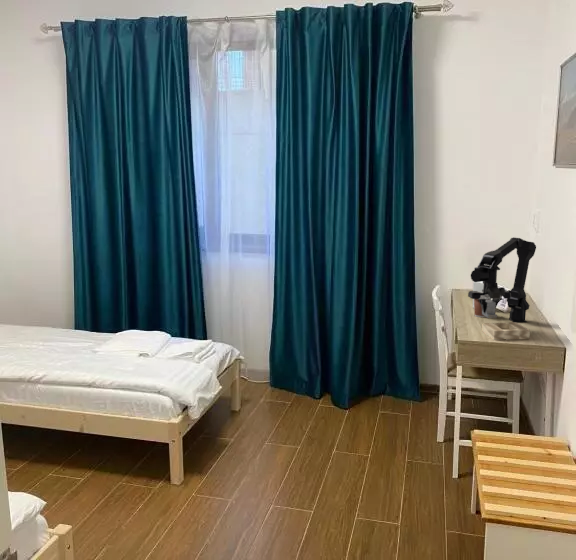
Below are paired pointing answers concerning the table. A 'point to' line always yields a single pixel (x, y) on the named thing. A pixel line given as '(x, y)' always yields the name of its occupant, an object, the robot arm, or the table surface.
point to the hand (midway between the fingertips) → (488, 312)
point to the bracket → (489, 309)
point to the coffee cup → (479, 307)
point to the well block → (505, 331)
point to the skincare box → (477, 288)
